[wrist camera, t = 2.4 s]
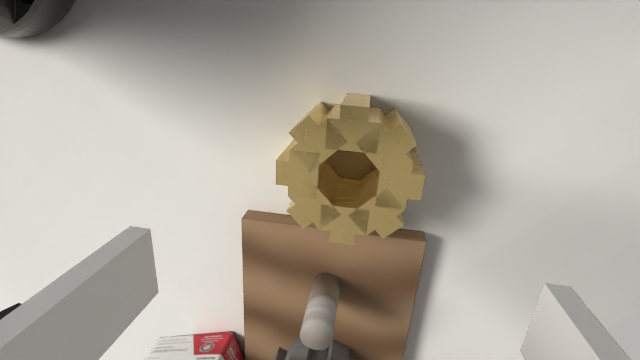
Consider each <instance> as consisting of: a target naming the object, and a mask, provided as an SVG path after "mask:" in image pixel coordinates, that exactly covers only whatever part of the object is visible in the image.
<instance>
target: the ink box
mask: <svg viewBox="0 0 640 360" xmlns="http://www.w3.org/2000/svg"><path fill="white" fill-rule="evenodd" d="M144 360H245V358H244V355H243V353H242V350H241V348H240V346H239V344H238V342H237V340H236V338H235V336H234V333H233V332H221V333H210V334H197V335H186V336H174V337H160V338H159V339H158V341H157V342H156V343H155V345H154V346H153V348H152V349H151V350H150V352H149V353H148V354H147V356H146V357H145V358H144Z"/></svg>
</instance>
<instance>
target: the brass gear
mask: <svg viewBox="0 0 640 360" xmlns="http://www.w3.org/2000/svg"><path fill="white" fill-rule="evenodd" d="M370 96H371V95H361V94H349V93H347V94H346V96H345V98H344V100H343V101H342V103H341V105H339V104H336V105H335V106H334V107H332V108H331V109H330V110H328V109H327V108H326V107H325V106H324V104H323V103H322V102H321V103H319V104H318V105H317V106H316V107H315V108H314V109H313V110H312V111H310V112H309V113H308V114H307V115H306V116H305V117H304V118H303V119H302V120H301V121H300V122H299V123H298V124H297V125H296V126H295V127H294V128H293V129H292V130H291V131H290V132H289V133H290V135H291V136H292V137H293V138H294V140H293V141H292V142H291V143H290V144H289V146H288V147H287V148H286V149H285V150H284V151H283V153H282V154H281V155H280V156H279V157H278V158H277V160H276V184H277V185H286V186H288V196H289V197H290V199H291V200H292V202H291V204H290V206H289V207H288V209H287V212H288V213H289V214H290V215H291V216H292V217H293V218H294V219H295V221H296V222H297V223H298V224H299V225H300V226H301V227H302V228H303V229H304V228H305V227H306V226H308V225H309V224H311V223H312V222H313V223H314V224H315V225H316V227H317V228H318V229H319V230H325V231H330V240H329V242H333V243H341V244H348V245H354V242H355V234H356V235H364V236H367V235H368V234H370V233H371V232H373V231H374V230H375V231H376V232H377V233H378V234H379V235H380V236H381V237H382V238H383V239H384V238H385V237H387V236H388V235H390V234H391V233H393V232H394V231H396V230H398V229H399V228H401V227H402V226H404V222H403V217H402V212H403V211H404V210H405V209H406V203H407V199H409V200H417V201H421V197H422V192H423V187H424V181H425V176H426V175H425V173H424V170H423V168H422V165H421V163H420V161H419V158H418V156H417V153H416V151H410V150H412V149H413V148H414V147H416V146H417V142H416V140H415V138H414V136H413V133H412V131H411V129H410V127H409V125H408V124H407V123H406V121H405V120H404V119H403V118H402V116H401V115H400V114H399V113H398V111H397V110H396V109H393V110H392V111H391V112H390V113H388V114H387V115H386V116H385V114H384V113H383V112H382V111H381V109H380V108H374V107H370ZM337 150H343V151H353V152H363V153H364V154H365V155H366V156H367V157H368V158H369V160H370V161H371V162H372V163H373V164H374V165H375V167H376V168H375V169H374V170H373V171H371V172H370V173H369V174H367V175H366V176H365V177H363V178H362V179H361V180H358V179H349V178H340V176H339V175H338V174H337V173H336V172H335V171H334V170H333V169H332V167H331V166H330V165H329V164H328V158H329V157H330V156H331V155H332V154H333V153H335V152H336V151H337Z"/></svg>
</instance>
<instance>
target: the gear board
mask: <svg viewBox="0 0 640 360" xmlns="http://www.w3.org/2000/svg"><path fill="white" fill-rule="evenodd" d="M329 240H330V231H325V230H319V229H318V228H317V227H316V225H315V224H314V223H313V222H312V223H311V224H309V225H308V226H306V227H305V228H304V229H303V228H302V227H301V226H300V225H299V224H298V223H297V222H296V221H295V219H294V218H293V217H292V216H291V215H283V214H275V213H267V212H259V211H251V210H248V211H247V212H246V214H245V215H244V216H243V217H242V253H243V292H244V331H245V360H403V355H404V350H405V345H406V340H407V335H408V330H409V325H410V320H411V315H412V310H413V306H414V301H415V296H416V291H417V286H418V281H419V276H420V271H421V266H422V261H423V256H424V251H425V246H426V239H425V235H424V232H421V231H413V230H405V229H398V230H396V231H394V232H393V233H391V234H390V235H388V236H387V237H385V238H384V239H383V238H382V237H381V236H380V235H379V234H378V233H377V232H376V231H375V230H374V231H373V232H371V233H370V234H368V235H367V236H364V235H356V234H355V242H354V245H348V244H341V243H333V242H329Z"/></svg>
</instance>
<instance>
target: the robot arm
mask: <svg viewBox="0 0 640 360" xmlns="http://www.w3.org/2000/svg"><path fill="white" fill-rule="evenodd" d="M73 1H74V0H0V38H24V37H29V36H33V35H37V34H39V33H42V32H44V31H46V30H48V29H49V28H51V27H52V26H54V25H55V24H56V23H57V22H58V21H59V20H60V19H61V18H62V17H63V16H64V15H65V14H66V12H67V11H68V10H69V8H70V7H71V5H72V3H73ZM157 293H158V285H157V277H156V270H155V262H154V254H153V247H152V239H151V232H150V229H147V228H139V227H132V226H130V227H128V228H127V229H126V230H124V231H123V232H122V233H120V234H119V235H117V236H116V237H115V238H113V239H112V240H110V241H109V242H108V243H106V244H105V245H103V246H102V247H101V248H99V249H98V250H97V251H95V252H94V253H92V254H91V255H90V256H88V257H87V258H85V259H84V260H83V261H81V262H80V263H79V264H77V265H76V266H74V267H73V268H72V269H70V270H69V271H67V272H66V273H65V274H63V275H62V276H60V277H59V278H58V279H56V280H55V281H54V282H52V283H51V284H49V285H48V286H47V287H45V288H44V289H42V290H41V291H40V292H38V293H37V294H36V295H34V296H33V297H31V298H30V299H29V300H27V301H26V302H24V303H23V304H20V303H18V304H15V305H13V306H11V307H9V308H7V309H5V310H3V311H1V312H0V360H99V358H100V357H101V356H102V355H103V354H104V353H105V352H106V351H107V349H108V348H109V347H110V346H111V345H112V344H113V343H114V342H115V340H116V339H117V338H118V337H119V336H120V335H121V334H122V333H123V332H124V330H125V329H126V328H127V327H128V326H129V325H130V324H131V323H132V321H133V320H134V319H135V318H136V317H137V316H138V315H139V314H140V313H141V311H142V310H143V309H144V308H145V307H146V306H147V305H148V304H149V302H150V301H151V300H152V299H153V298H154V297H155V296H156V295H157ZM520 351H521V353H522V355H523V357H524V359H525V360H631V359H630V358H629V357H628V355H627V354H626V353H625V352H624V350H623V349H622V348H621V347H620V346H619V344H618V343H617V342H616V341H615V340H614V338H613V337H612V336H611V335H610V333H609V332H608V331H607V330H606V329H605V327H604V326H603V325H602V324H601V323H600V321H599V320H598V319H597V318H596V317H595V315H594V314H593V313H592V312H591V310H590V309H589V308H588V307H587V306H586V304H585V303H584V302H583V301H582V300H581V298H580V297H579V296H578V295H577V293H576V292H575V291H574V290H573V289H572V287H569V286H561V285H554V284H547V283H544V286H543V289H542V292H541V294H540V297H539V300H538V303H537V305H536V308H535V311H534V314H533V316H532V319H531V322H530V325H529V328H528V330H527V333H526V336H525V339H524V341H523V344H522V347H521V350H520Z"/></svg>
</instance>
